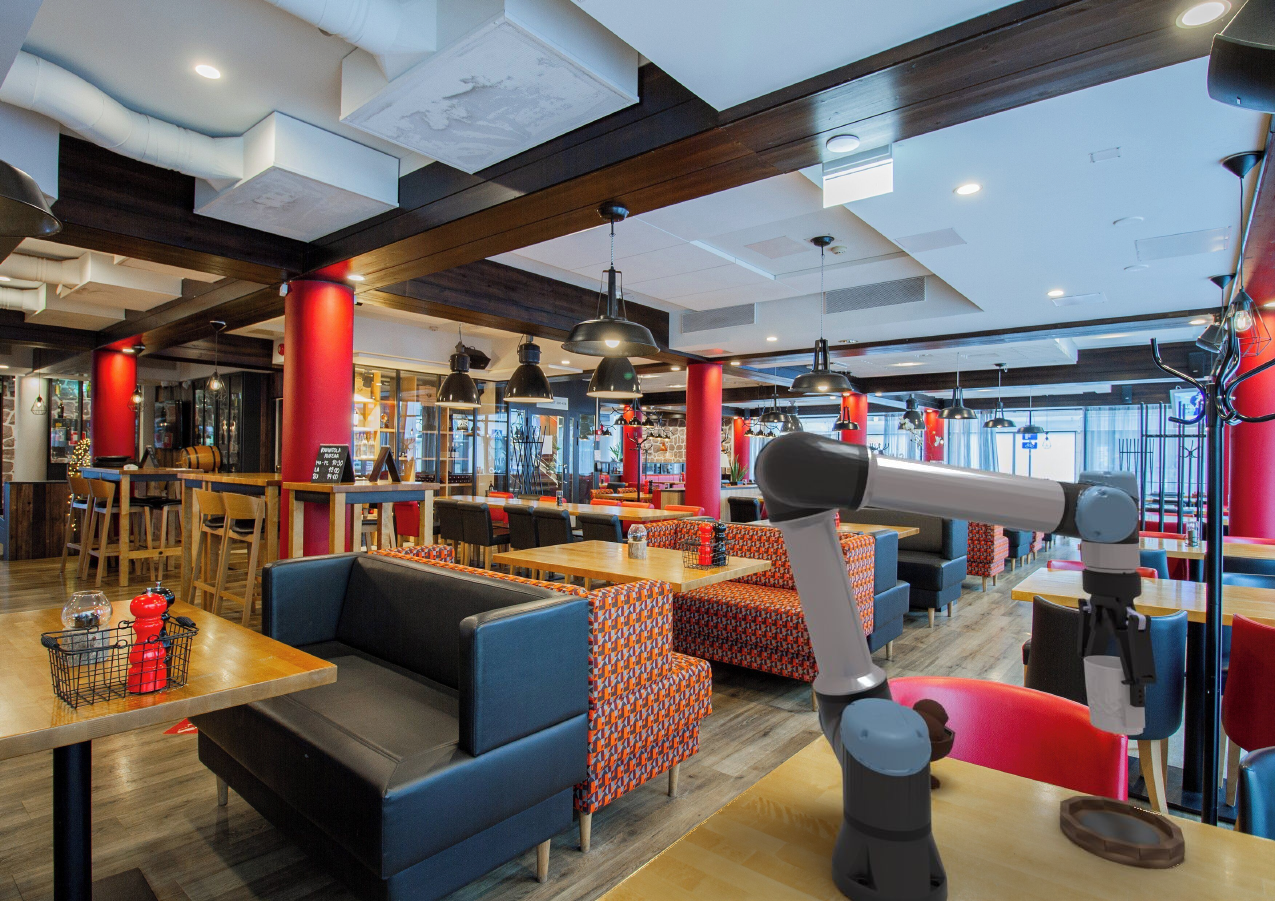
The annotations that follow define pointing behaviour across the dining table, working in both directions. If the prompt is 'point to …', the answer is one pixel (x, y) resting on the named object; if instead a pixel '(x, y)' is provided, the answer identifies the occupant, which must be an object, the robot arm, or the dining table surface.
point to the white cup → (1106, 694)
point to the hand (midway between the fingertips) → (1115, 716)
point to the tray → (1122, 832)
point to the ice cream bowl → (936, 731)
